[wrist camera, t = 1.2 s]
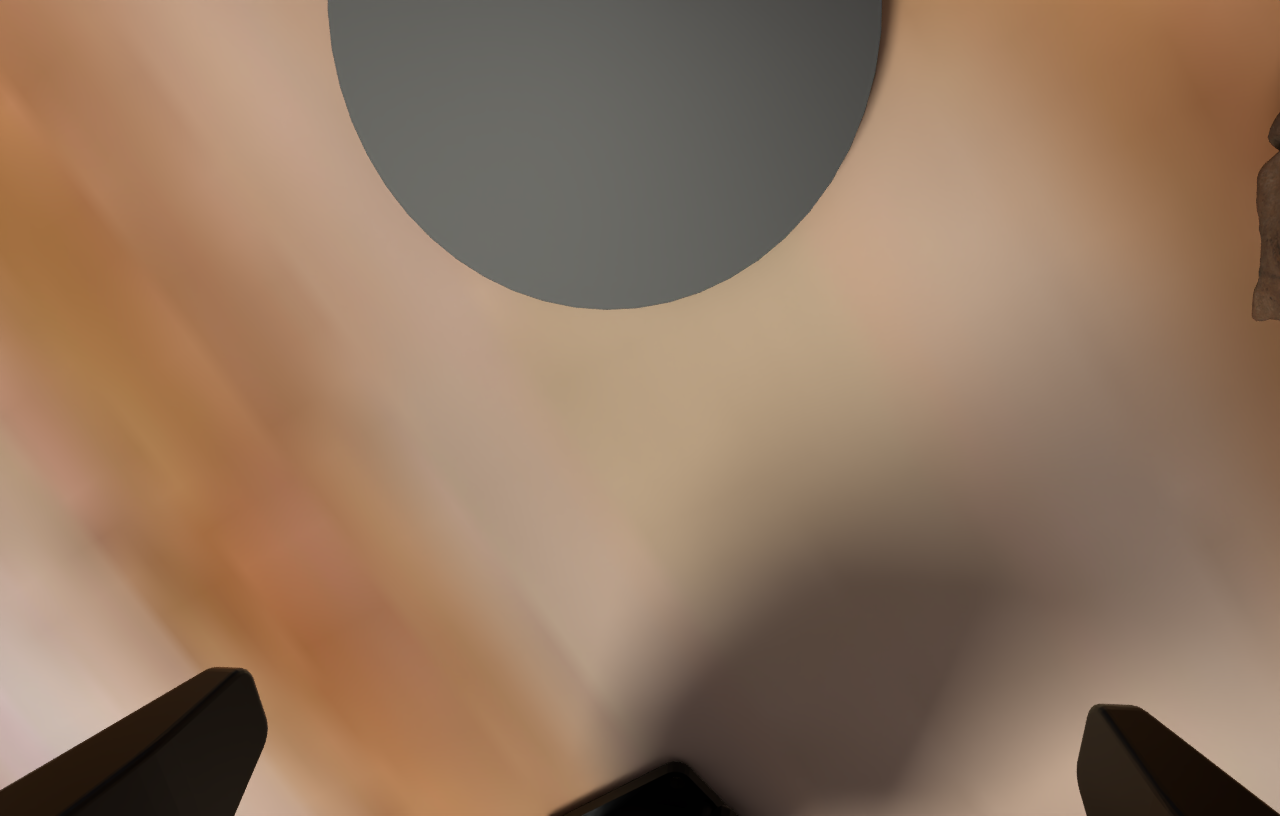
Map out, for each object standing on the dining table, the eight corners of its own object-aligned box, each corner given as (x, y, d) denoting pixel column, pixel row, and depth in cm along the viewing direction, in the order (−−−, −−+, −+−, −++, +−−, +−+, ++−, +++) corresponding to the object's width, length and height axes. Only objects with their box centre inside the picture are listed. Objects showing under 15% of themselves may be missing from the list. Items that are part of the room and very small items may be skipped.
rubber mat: (572, 390, 21) (568, 399, 21) (236, -1, 18) (220, -3, 18) (987, 85, 17) (995, 86, 17) (639, -476, 14) (635, -497, 14)
